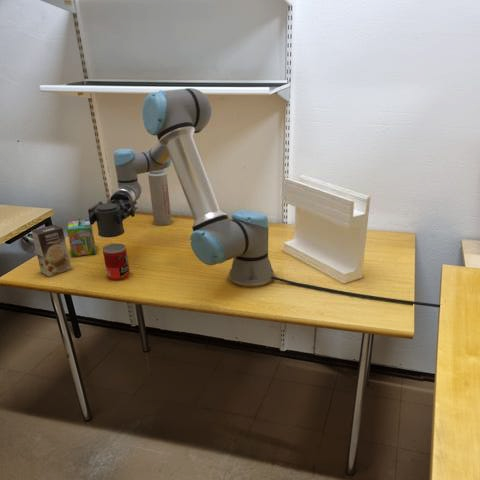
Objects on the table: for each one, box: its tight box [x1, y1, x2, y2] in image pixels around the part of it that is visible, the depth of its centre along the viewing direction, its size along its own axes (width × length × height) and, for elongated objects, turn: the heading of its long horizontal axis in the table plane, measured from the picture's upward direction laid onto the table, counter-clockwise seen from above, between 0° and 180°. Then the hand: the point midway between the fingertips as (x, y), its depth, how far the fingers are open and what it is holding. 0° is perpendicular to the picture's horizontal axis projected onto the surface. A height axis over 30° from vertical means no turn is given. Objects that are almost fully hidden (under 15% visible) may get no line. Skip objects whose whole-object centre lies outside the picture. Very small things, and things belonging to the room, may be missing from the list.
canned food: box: [102, 242, 131, 281], centre depth 168 cm, size 8×8×11 cm
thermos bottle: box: [147, 168, 172, 227], centre depth 213 cm, size 8×8×28 cm
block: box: [282, 174, 371, 284], centre depth 168 cm, size 35×8×28 cm, turn 31°
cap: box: [94, 202, 125, 239], centre depth 160 cm, size 9×9×9 cm
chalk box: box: [66, 214, 97, 258], centre depth 188 cm, size 9×9×15 cm
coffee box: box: [30, 224, 72, 278], centre depth 172 cm, size 9×6×16 cm
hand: (104, 220), depth 156 cm, fingers closed on cap, 8 cm apart
